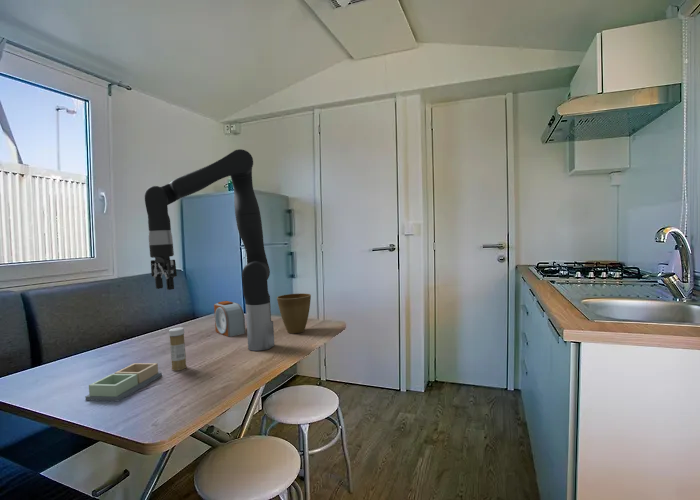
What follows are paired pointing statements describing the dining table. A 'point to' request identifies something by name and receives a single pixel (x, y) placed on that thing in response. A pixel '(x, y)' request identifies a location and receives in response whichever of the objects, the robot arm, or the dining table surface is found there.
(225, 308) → the alarm clock
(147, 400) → the dining table surface
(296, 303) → the plant pot
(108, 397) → the socket board
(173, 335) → the sprinkles bottle
